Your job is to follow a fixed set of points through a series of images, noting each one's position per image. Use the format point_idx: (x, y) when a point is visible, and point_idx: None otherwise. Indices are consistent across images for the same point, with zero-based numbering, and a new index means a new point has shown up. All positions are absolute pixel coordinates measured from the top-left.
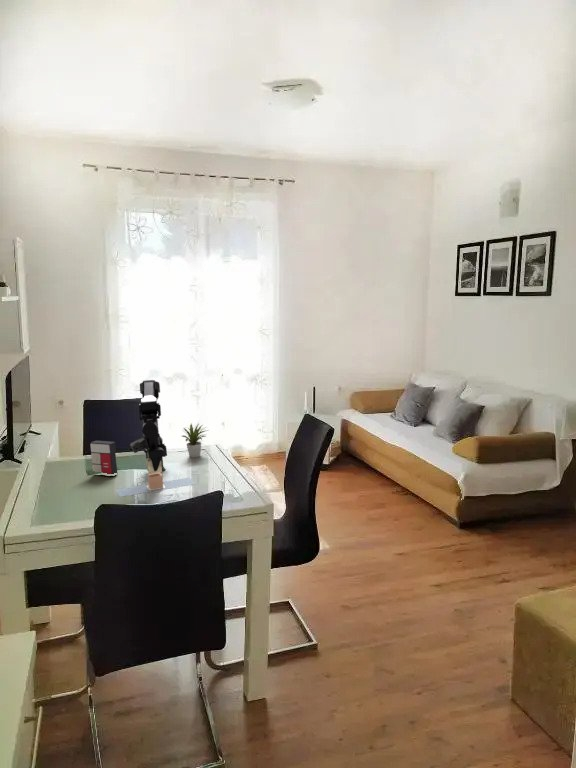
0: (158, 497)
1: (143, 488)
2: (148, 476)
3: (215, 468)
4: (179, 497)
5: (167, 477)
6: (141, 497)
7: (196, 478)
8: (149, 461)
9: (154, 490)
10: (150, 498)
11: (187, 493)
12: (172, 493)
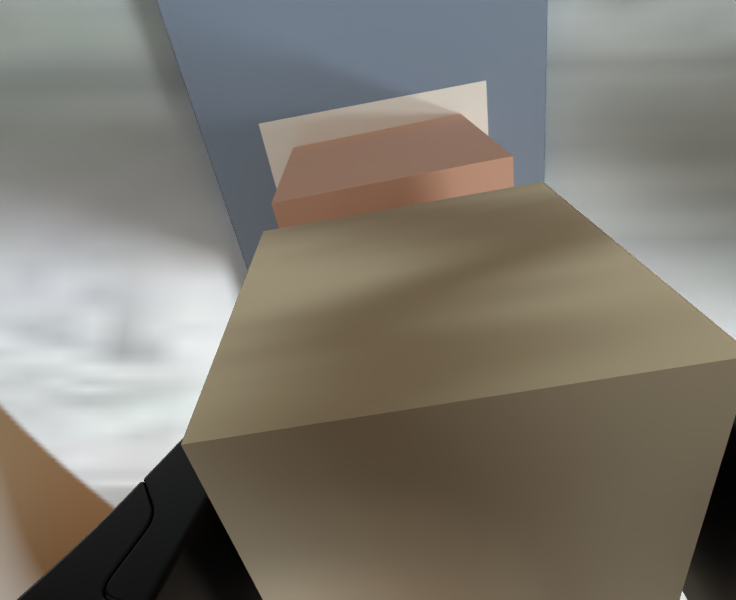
0: (61, 231)
1: (378, 36)
2: (408, 170)
3: (680, 597)
4: (53, 409)
5: (722, 313)
6: (72, 7)
7: None
8: (201, 477)
9: (244, 195)
10: (26, 139)
11: (156, 459)
12: (178, 358)
